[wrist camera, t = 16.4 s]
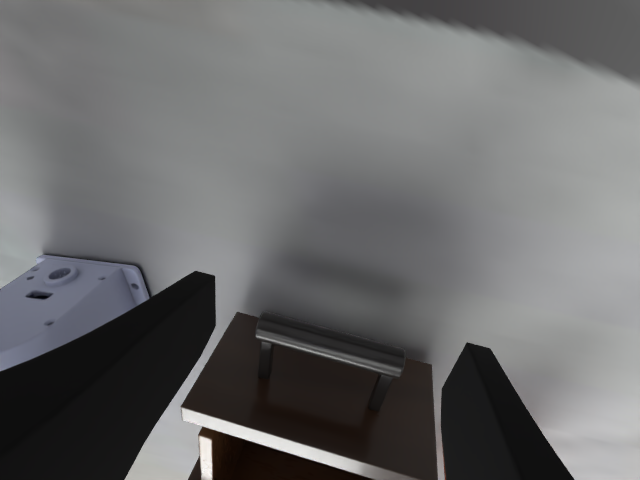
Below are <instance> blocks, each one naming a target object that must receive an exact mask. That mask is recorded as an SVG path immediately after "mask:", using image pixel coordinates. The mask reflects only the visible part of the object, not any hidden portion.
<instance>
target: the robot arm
mask: <svg viewBox="0 0 640 480" xmlns="http://www.w3.org/2000/svg"><path fill="white" fill-rule="evenodd" d="M36 263H37V265H36V266H34V267H33V268H31V269H30V270H28V271H27V272H25V273H24V274H22V275H21V276H19V277H18V278H16V279H15V280H13V281H12V282H10V283H9V284H7V285H6V286H4V287H3V288H1V289H0V480H124V479H125V477H126V476H127V474H128V472H129V470H130V468H131V466H132V465H133V463H134V461H135V459H136V457H137V455H138V453H139V452H140V450H141V448H142V446H143V444H144V443H145V441H146V439H147V438H148V436H149V434H150V433H151V431H152V429H153V428H154V426H155V425H156V423H157V422H158V420H159V419H160V417H161V416H162V414H163V413H164V411H165V410H166V408H167V407H168V405H169V404H170V402H171V401H172V399H173V398H174V396H175V395H176V393H177V392H178V390H179V389H180V387H181V386H182V384H183V383H184V381H185V379H186V378H187V376H188V375H189V373H190V372H191V370H192V369H193V367H194V366H195V364H196V363H197V361H198V360H199V358H200V356H201V354H202V352H203V351H204V349H205V347H206V345H207V343H208V341H209V339H210V337H211V335H212V332H213V330H214V328H215V326H216V310H215V276H213V275H210V274H206V273H202V272H198V271H194V272H193V273H191V274H189V275H187V276H186V277H184V278H182V279H181V280H179V281H177V282H176V283H174V284H173V285H171V286H169V287H168V288H166V289H164V290H163V291H161V292H160V293H158V294H156V295H155V296H153V297H151V298H149V295H148V292H147V289H146V286H145V283H144V280H143V277H142V275H141V272H140V270H139V269H138V268H137V267H136V266H133V265H126V264H118V263H109V262H101V261H92V260H84V259H75V258H67V257H58V256H50V255H40V256H39V257H37V258H36ZM441 433H442V444H443V454H444V464H445V474H446V480H574V478H573V477H572V476H571V474H570V473H569V471H568V470H567V468H566V467H565V466H564V464H563V463H562V461H561V460H560V458H559V457H558V456H557V454H556V453H555V451H554V450H553V448H552V447H551V445H550V444H549V443H548V441H547V440H546V438H545V437H544V435H543V434H542V432H541V430H540V429H539V427H538V426H537V424H536V423H535V421H534V420H533V418H532V416H531V415H530V413H529V412H528V410H527V409H526V407H525V405H524V404H523V402H522V401H521V399H520V397H519V396H518V394H517V392H516V391H515V389H514V387H513V386H512V384H511V382H510V381H509V379H508V377H507V376H506V374H505V372H504V371H503V369H502V367H501V366H500V364H499V362H498V361H497V359H496V357H495V356H494V354H493V352H492V351H491V349H490V348H486V347H483V346H479V345H475V344H471V343H466V345H465V347H464V349H463V351H462V352H461V354H460V356H459V358H458V360H457V362H456V364H455V365H454V367H453V369H452V371H451V373H450V375H449V376H448V378H447V380H446V382H445V384H444V386H443V388H442V398H441Z"/></svg>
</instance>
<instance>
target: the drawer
mask: <svg viewBox="0 0 640 480" xmlns="http://www.w3.org/2000/svg"><path fill="white" fill-rule="evenodd" d="M405 357H406V353H405V350H404V349H403V348H400V347H396V346H392V345H388V344H385V343H381V342H377V341H374V340H370V339H366V338H362V337H359V336H355V335H351V334H348V333H344V332H340V331H337V330H333V329H329V328H325V327H322V326H318V325H314V324H311V323H307V322H303V321H299V320H296V319H292V318H288V317H285V316H281V315H277V314H273V313H270V312H266V311H265V312H263V313H262V314H261V316H260V318H258V317H255V316H251V315H247V314H244V313H240V312H237V313H236V314H235V316H234V318H233V320H232V321H231V323H230V325H229V326H228V328H227V330H226V331H225V333H224V335H223V336H222V338H221V340H220V341H219V343H218V345H217V346H216V348H215V350H214V352H213V353H212V355H211V357H210V358H209V360H208V362H207V363H206V365H205V367H204V368H203V370H202V372H201V373H200V375H199V377H198V378H197V380H196V382H195V383H194V385H193V387H192V389H191V390H190V392H189V394H188V395H187V397H186V399H185V400H184V402H183V404H182V405H181V413H182V420H183V421H187V422H190V423H193V424H196V425H200V426H203V427H202V428H201V430H200V432H199V435H198V437H199V452H200V468H201V480H438V474H437V455H436V436H435V417H434V399H433V380H432V365H431V364H427V363H424V362H420V361H416V360H413V359H409V358H405Z"/></svg>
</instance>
